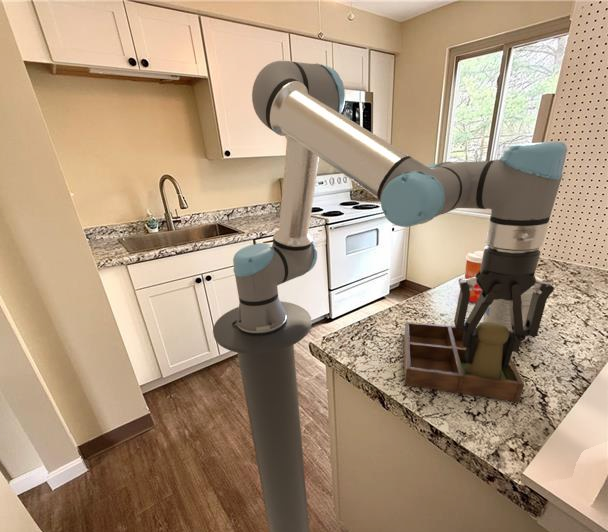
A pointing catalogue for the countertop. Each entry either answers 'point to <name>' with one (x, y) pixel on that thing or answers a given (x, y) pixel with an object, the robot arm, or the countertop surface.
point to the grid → (451, 364)
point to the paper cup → (474, 272)
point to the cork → (488, 350)
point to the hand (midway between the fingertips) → (485, 361)
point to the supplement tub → (508, 310)
